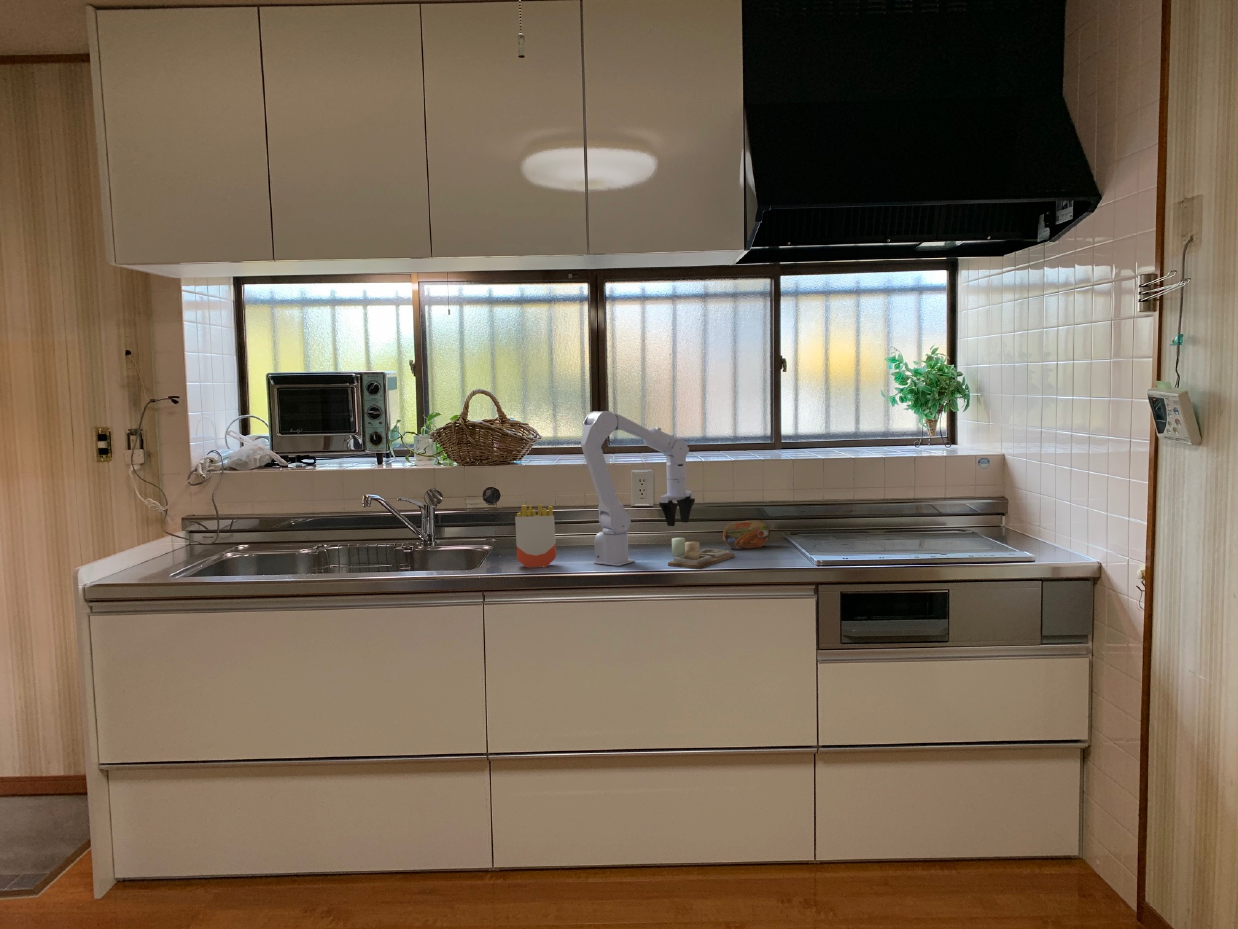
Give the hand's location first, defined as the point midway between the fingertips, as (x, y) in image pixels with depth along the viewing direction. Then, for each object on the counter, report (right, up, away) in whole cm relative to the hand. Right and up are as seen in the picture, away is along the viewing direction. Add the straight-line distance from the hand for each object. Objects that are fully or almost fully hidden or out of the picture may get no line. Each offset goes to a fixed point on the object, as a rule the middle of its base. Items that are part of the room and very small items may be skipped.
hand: (678, 524), depth 248 cm
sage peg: (0, -9, +1) cm, 9 cm away
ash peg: (+3, -9, -14) cm, 17 cm away
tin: (+22, -8, +9) cm, 25 cm away
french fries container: (-41, -12, -8) cm, 44 cm away
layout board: (+6, -10, -10) cm, 15 cm away
